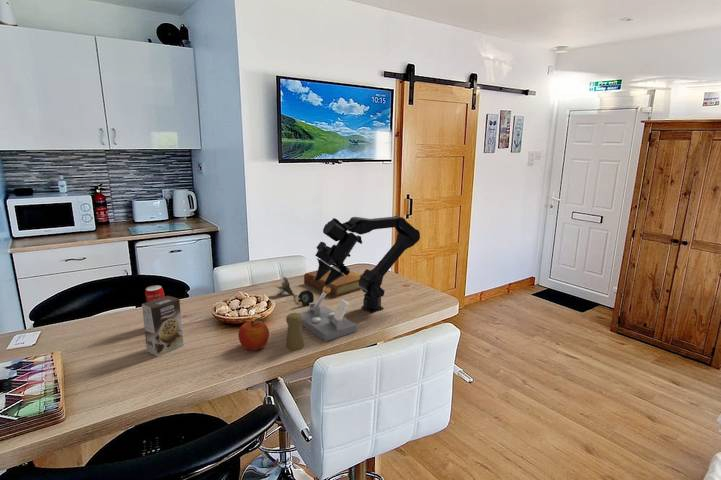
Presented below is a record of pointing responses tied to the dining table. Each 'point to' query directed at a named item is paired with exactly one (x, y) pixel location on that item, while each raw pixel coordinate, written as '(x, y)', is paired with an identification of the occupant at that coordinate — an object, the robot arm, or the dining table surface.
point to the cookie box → (162, 325)
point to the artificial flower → (304, 296)
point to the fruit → (253, 334)
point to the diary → (335, 283)
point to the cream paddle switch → (340, 311)
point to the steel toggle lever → (321, 297)
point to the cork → (294, 332)
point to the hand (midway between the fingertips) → (320, 282)
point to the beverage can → (154, 292)
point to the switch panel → (326, 323)
